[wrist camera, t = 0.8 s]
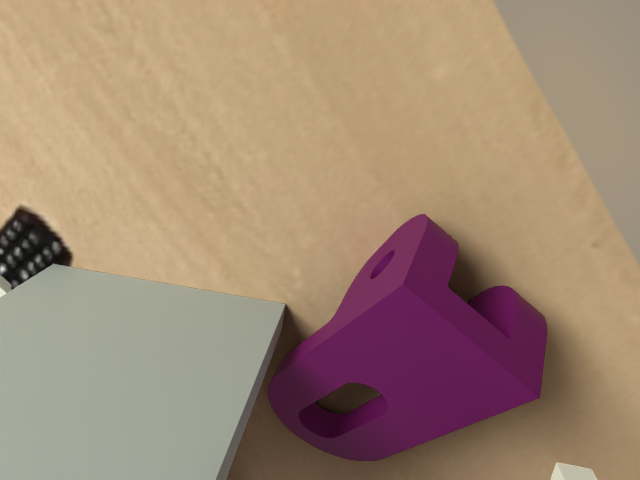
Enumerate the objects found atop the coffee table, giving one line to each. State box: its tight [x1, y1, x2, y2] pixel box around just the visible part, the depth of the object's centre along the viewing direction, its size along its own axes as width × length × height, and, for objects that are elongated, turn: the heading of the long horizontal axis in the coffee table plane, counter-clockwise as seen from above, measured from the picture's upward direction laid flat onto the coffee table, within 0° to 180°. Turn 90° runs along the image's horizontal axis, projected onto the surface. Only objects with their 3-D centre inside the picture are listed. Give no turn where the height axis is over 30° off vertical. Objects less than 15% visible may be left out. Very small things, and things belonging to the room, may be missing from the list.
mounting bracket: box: [268, 214, 547, 461], centre depth 37 cm, size 10×8×18 cm
